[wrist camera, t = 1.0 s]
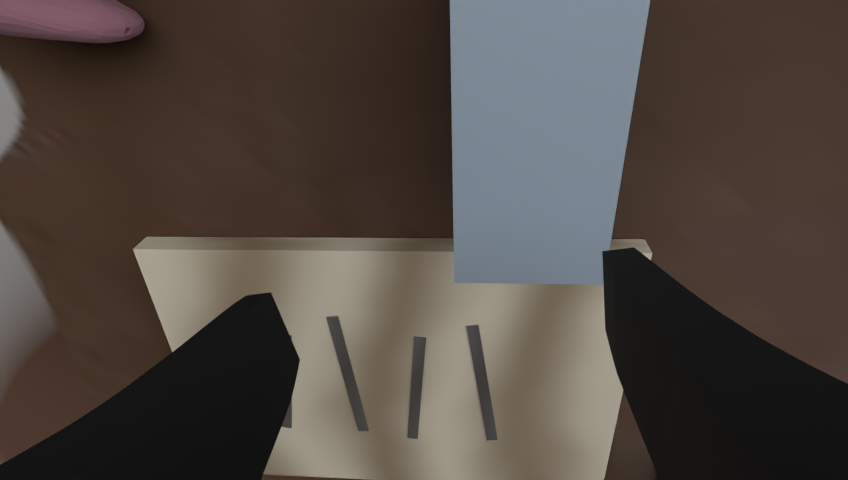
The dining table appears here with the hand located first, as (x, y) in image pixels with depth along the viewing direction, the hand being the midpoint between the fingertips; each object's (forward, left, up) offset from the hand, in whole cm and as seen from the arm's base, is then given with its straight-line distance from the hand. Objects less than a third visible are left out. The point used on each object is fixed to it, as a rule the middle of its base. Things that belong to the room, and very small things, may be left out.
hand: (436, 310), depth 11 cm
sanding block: (-2, -3, -9) cm, 9 cm away
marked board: (+3, +10, -9) cm, 14 cm away
